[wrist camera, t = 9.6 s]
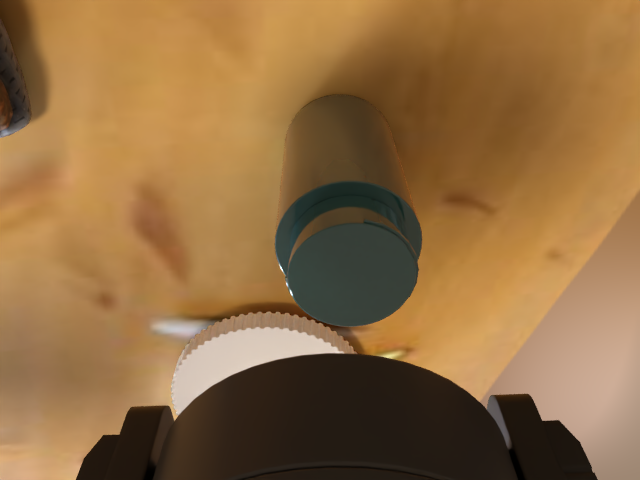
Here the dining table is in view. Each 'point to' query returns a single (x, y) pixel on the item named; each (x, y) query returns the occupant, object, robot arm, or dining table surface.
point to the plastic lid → (247, 349)
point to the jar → (345, 215)
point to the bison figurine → (11, 89)
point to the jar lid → (335, 425)
